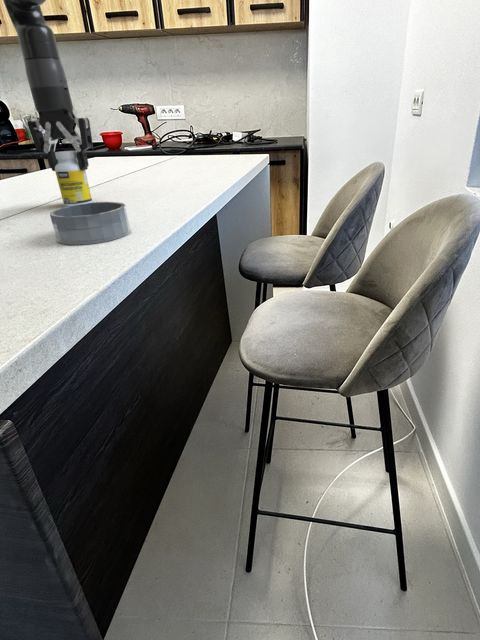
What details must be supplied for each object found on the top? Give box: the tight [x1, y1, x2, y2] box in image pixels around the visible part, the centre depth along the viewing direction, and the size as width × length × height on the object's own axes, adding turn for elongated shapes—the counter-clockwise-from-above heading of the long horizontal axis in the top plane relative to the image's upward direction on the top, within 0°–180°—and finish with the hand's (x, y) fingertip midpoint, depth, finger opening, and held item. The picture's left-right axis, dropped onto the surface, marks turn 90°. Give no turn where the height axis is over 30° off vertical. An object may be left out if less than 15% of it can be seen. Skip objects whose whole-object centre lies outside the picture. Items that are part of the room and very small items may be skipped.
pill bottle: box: [54, 150, 93, 207], centre depth 100 cm, size 6×6×12 cm
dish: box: [49, 201, 131, 246], centre depth 74 cm, size 12×12×4 cm
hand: (70, 170), depth 99 cm, fingers closed on pill bottle, 6 cm apart
